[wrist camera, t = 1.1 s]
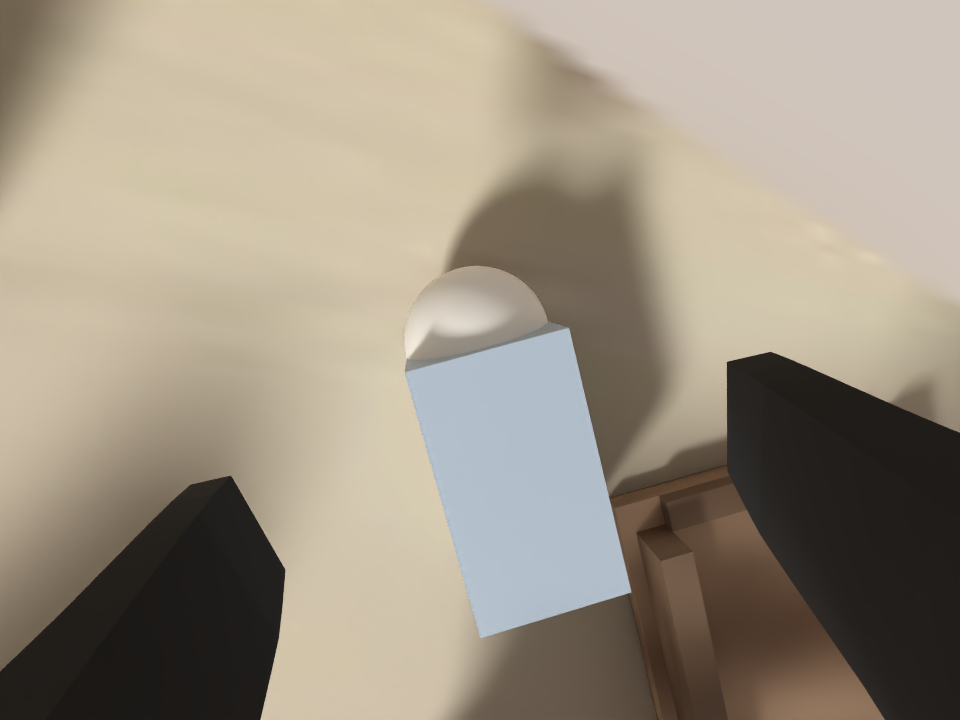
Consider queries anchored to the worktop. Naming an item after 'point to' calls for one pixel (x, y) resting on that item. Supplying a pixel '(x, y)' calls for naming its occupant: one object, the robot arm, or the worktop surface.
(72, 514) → the worktop surface
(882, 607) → the robot arm
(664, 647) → the brown tray
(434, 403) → the domed blue block
